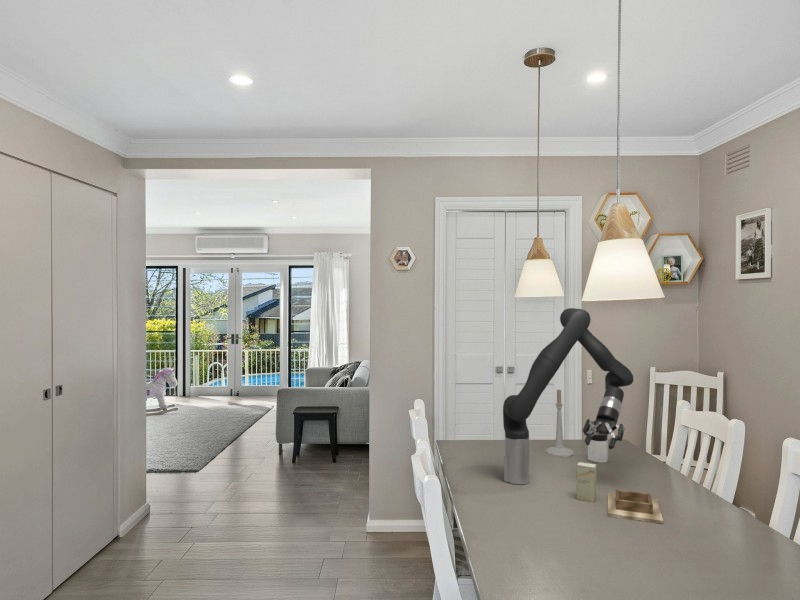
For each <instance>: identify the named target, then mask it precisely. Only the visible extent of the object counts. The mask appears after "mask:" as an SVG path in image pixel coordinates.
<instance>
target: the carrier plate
mask: <svg viewBox="0 0 800 600" xmlns="http://www.w3.org/2000/svg"><path fill="white" fill-rule="evenodd" d="M607 517H610V518H616V517H617V519H623V518H625V520H631V519H633V520H632V521H638V520H641V521H640V522H645V521H649V522H648V523H652V522H657V523H656V524H659V523H663V524H664V518H663V516H662V512H661V508H660V505H659V500H658V498H653V497H652V496H651V493H649V492H648V493H647V492H639V491H630V490H621V489H615V493H610V492H607Z"/></svg>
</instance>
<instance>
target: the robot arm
mask: <svg viewBox="0 0 800 600" xmlns="http://www.w3.org/2000/svg"><path fill="white" fill-rule="evenodd" d="M559 316H560V317H559V322H560V324H561V326H562V327H563V328H562V331H560V333H559V334H558V336H557V337H556V338H554V339H553V340H552V341H551V342H549V343H548V344H547V345H545V347H544V348H542V350H541V351H540V352H539V353H538V355H537V356H536V358H535V360H534V361H533V362H532V364H531V367H530V369H529V372H528V377H527V379H526V381H525V384H524V385H523V387H522V389H520V391H519V393H518V394H511V395H509V396H507V397H506V398H505V400H504V402H503V405H502V418H503V419H502V420H503V429H504V452H505V453H504V454H505V455H504V457H503V480H504V481H503V482H505V483H506V482H507V483H508V484H512V485H526V484H529V483H530V430H529V428H528V426H527V425H528V424H527V419H528V418H529V417H530V416H531V414H532V412H533V410H534V408H535V406H536V404H537V403H538V400H539V398H540V397H541V395H543V392H544V391H545V390H546V388H547V386H548V385H549V383H550V382H551V380H552V379H553V378H554V376H555V375H556V373H557V372H558V370H559V369H560V367H561V365H562V364H563V362H564V360H566V358H567V356H568V355H569V353H570V352H571V350H572V349H573V347H574V346H575V344H576V343H577V342H578V343H579V344H580V345H581V346H583V348H584V349H585V351H586V352H587V353H588V354H589V356H590V357H591V358H592V360H593V361H595V363H596V364H597V366H598V367H599V368H600V370H601V371H604V372H607V373H606V374H605V377H604V383H605V384H604V395H603V397H602V400H601V402H600V405H599V407H598V411H597V414H596V418H595V420H594V421H593V420H591V419H590V418H587V419H586V421H585V422H584V423H585V424H584V426H583V429H582V432H583V434H584V435H585V438H584V442H585V444H586V446H587V447H588V446H589V444H590V441H591V437H592V436H593V435H596V434H598V433H599V434H606V435H607V436H608V435H610V439H609V442H608V450H613V449H614V448H615V445H616V442H617V441H618V442H622V441H623V438H624V433H625V427H624V424H623V423H619V424H618V420H619V417H620V414H621V409H622V405H623V401H624V396H625V392H624V390H623V389H622V388H621V387H627V386H631V385H632V384H633V382H634V375H633V373H632V371H631V370H630V368H628V367H627V366H626V365H625V364H623V363H622V362H620V361H619V360H618V359H616V357H615V356H614V355H613V354H612V352H611V351H610V350H609V348H608V347H607V345H605V344H604V343H603V342H602V341H600V340H599V339H598V338H597V337H596V336H595V335H594V334H592V332H591V331H590V330H589V329H588V328H589V327H590V326H591V325H590V324H591V315H590V313H589V311H587V310H586V309H582V308H573V307H569V308H565V309H564V310H563V311H561V313H560V315H559ZM615 430H617V434H615V433H614V431H615Z"/></svg>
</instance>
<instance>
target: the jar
mask: <svg viewBox="0 0 800 600" xmlns="http://www.w3.org/2000/svg"><path fill="white" fill-rule="evenodd" d="M587 460H588V461H590V462H592V463H593V462H594V463H596V462H598V463H604V464H606V463H607V462H608V461H609V439H608V435H606V434H599V433H598V434H596V435H593V436H592V437H591V441H590V444H589V446H588V445H587Z"/></svg>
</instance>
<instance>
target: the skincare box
mask: <svg viewBox="0 0 800 600" xmlns="http://www.w3.org/2000/svg"><path fill="white" fill-rule="evenodd" d="M576 499H577V500H581V501H586V502H592V503H594V502H596V499H597V464H595V463H588V462H582V461H578V462H577V464H576Z"/></svg>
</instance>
